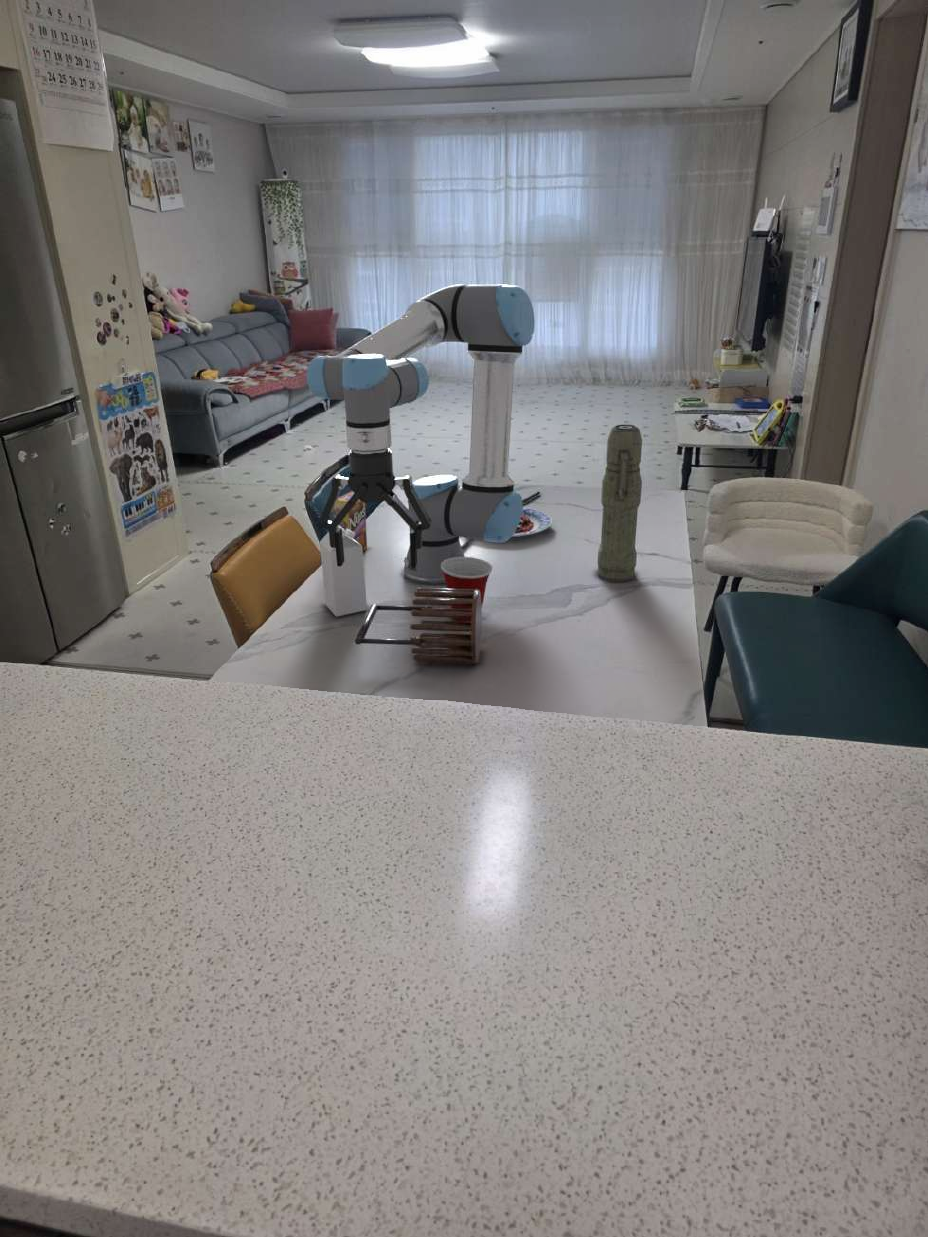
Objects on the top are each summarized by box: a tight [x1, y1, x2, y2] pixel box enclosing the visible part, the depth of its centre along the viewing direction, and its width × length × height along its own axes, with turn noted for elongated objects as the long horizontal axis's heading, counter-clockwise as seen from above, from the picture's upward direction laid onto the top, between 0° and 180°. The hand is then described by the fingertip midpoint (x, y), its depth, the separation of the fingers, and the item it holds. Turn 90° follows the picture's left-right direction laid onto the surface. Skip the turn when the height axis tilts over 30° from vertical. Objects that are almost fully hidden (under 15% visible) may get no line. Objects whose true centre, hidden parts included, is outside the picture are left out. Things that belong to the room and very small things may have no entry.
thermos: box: [597, 424, 643, 583], centre depth 188 cm, size 9×12×35 cm
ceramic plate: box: [511, 507, 553, 538], centre depth 227 cm, size 26×26×3 cm
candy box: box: [333, 490, 368, 551], centre depth 209 cm, size 9×4×15 cm, turn 155°
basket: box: [354, 587, 482, 664], centre depth 156 cm, size 16×22×14 cm
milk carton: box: [319, 525, 368, 618], centre depth 177 cm, size 7×7×19 cm
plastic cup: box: [441, 556, 493, 622], centre depth 173 cm, size 11×11×12 cm
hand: (377, 564), depth 151 cm, fingers open, 13 cm apart
